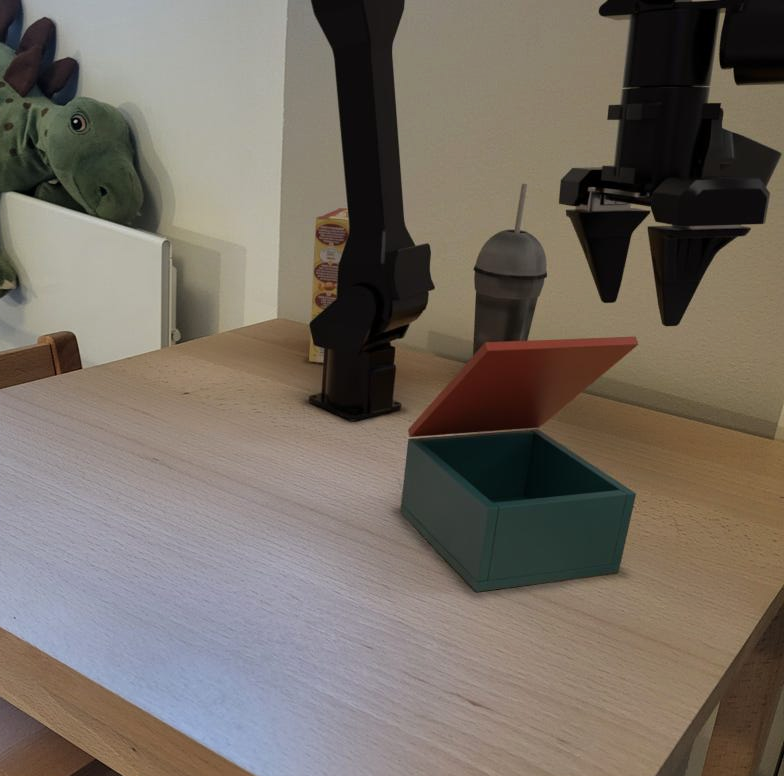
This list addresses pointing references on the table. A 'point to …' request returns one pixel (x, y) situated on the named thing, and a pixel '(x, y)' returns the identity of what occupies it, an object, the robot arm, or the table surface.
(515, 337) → the beverage cup
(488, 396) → the lid
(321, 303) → the candy box
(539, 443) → the teal open box
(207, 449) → the table surface
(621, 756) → the table surface
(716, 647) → the table surface
